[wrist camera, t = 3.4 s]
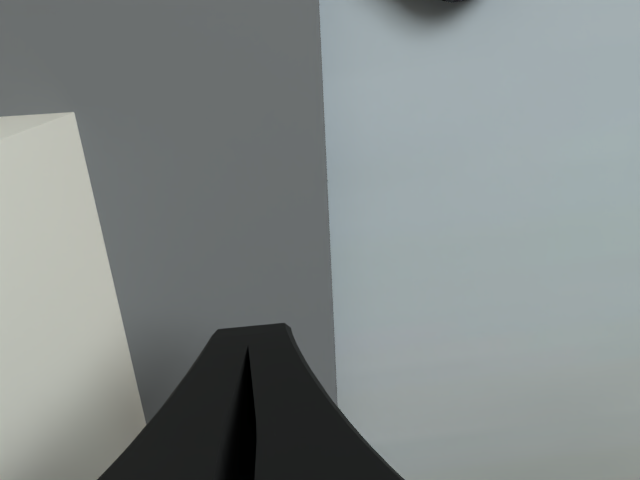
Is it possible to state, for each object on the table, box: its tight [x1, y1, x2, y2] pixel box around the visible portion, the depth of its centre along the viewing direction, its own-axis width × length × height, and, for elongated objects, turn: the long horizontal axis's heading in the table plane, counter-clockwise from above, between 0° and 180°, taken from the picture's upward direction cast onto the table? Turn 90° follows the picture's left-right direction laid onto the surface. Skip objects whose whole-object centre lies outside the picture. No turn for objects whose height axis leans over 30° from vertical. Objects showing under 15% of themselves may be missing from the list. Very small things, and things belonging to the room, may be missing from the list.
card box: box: [0, 112, 146, 480], centre depth 9 cm, size 9×2×6 cm, turn 3°
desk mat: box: [0, 0, 337, 425], centre depth 12 cm, size 16×14×1 cm
